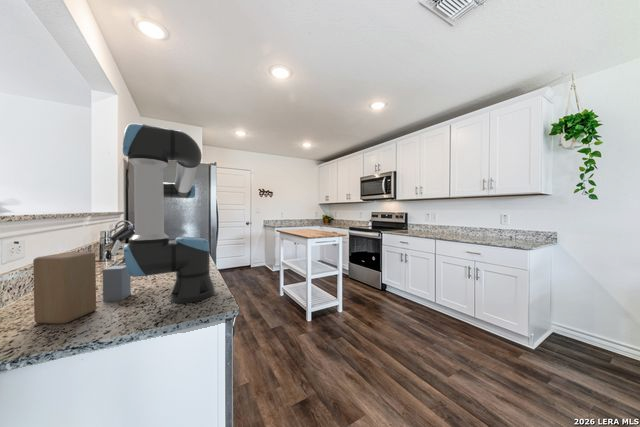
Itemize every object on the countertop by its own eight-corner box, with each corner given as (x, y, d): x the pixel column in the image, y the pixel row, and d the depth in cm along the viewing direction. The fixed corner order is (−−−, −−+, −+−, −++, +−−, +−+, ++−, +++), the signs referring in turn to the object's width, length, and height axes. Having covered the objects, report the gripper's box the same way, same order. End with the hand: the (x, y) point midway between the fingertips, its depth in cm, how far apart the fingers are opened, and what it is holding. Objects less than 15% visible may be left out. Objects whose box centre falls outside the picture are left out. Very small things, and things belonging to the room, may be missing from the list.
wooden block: (69, 310, 79) (68, 251, 79) (97, 310, 79) (97, 251, 79) (32, 324, 69) (31, 257, 69) (64, 325, 69) (63, 257, 69)
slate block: (130, 294, 94) (130, 264, 94) (122, 300, 88) (121, 268, 88) (112, 295, 92) (112, 265, 92) (103, 301, 86) (102, 269, 86)
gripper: (177, 222, 120) (166, 256, 106) (120, 222, 114) (101, 259, 100) (174, 212, 115) (161, 247, 101) (114, 212, 109) (92, 249, 95)
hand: (131, 253), depth 100 cm, fingers open, 13 cm apart
